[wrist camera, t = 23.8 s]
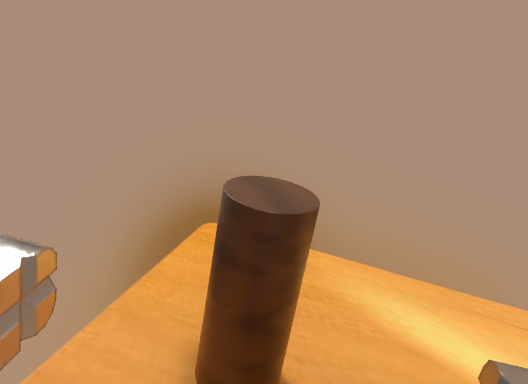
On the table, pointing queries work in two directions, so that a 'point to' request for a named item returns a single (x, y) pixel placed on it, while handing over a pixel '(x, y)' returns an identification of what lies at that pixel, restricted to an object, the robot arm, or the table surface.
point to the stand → (255, 279)
